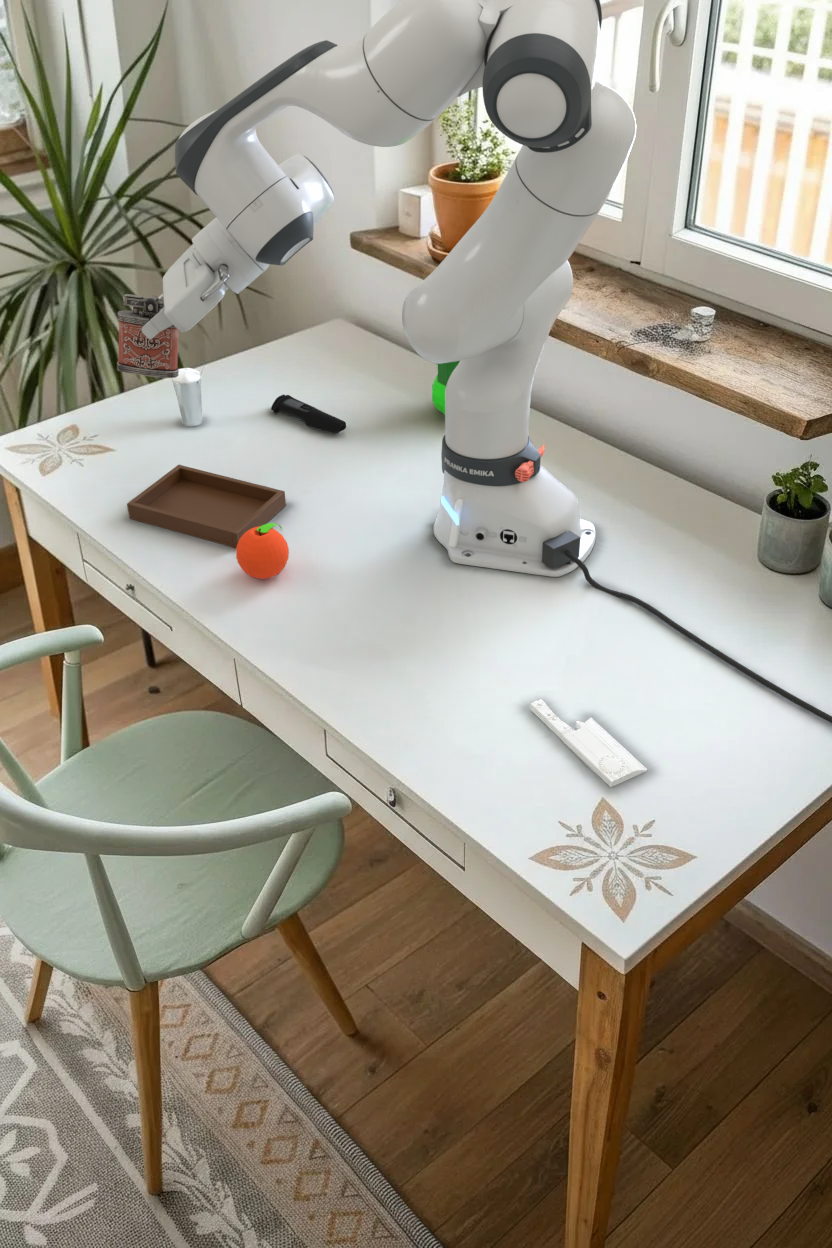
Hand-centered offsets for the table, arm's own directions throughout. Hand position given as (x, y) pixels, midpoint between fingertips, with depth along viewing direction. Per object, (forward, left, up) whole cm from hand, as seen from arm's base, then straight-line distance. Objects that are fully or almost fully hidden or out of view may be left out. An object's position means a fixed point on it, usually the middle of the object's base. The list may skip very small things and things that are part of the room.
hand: (144, 328), depth 158 cm
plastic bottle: (-24, -46, -28) cm, 59 cm away
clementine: (-20, +7, -28) cm, 35 cm away
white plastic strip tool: (-70, +20, -28) cm, 78 cm away
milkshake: (+14, -25, -28) cm, 41 cm away
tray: (-4, -3, -28) cm, 29 cm away
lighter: (0, +1, -6) cm, 6 cm away
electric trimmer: (-3, -33, -28) cm, 44 cm away
